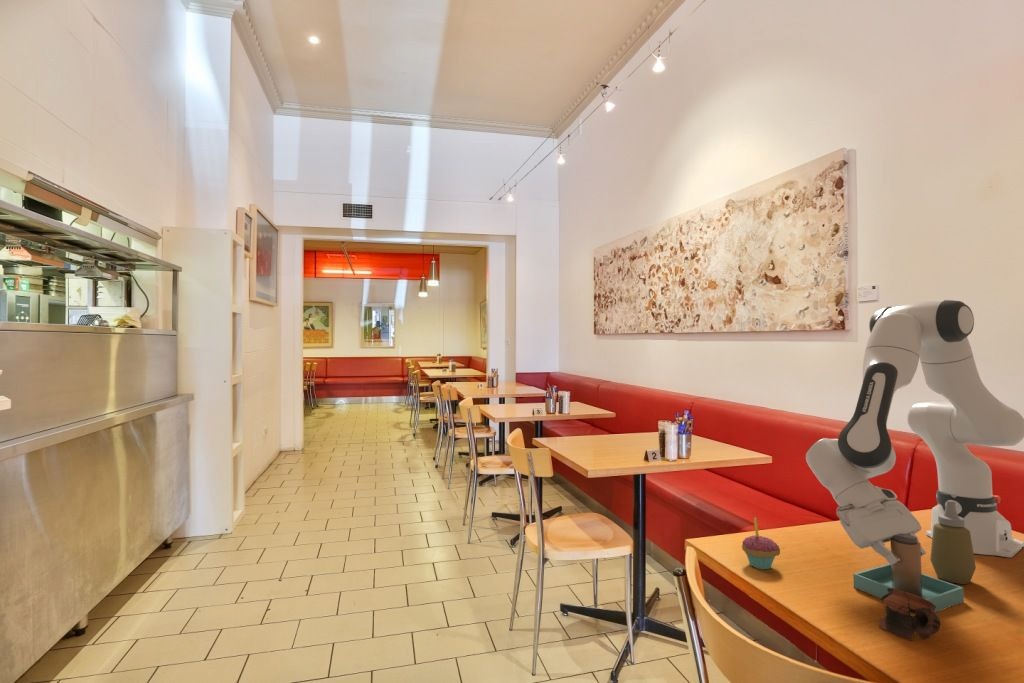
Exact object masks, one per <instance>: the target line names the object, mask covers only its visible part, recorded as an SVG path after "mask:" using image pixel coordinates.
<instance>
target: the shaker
mask: <svg viewBox="0 0 1024 683" xmlns="http://www.w3.org/2000/svg"><path fill="white" fill-rule="evenodd" d="M890 540H891V541H890V551H891V552H892V553H896V555H897V556H898V557H899V558H900V561H899V562H898V563H896V564H891V570H892V588H894V589H897V590H901V591H904V592H908V593H911V594H914V595H916V596H919V597H922V574H923V572H922V556H921V547H922V545H921V542H920V541H919V542H918V541H917V538H916V537H914V536H912V535H908V534H897V535H893V537H892V538H891V539H890Z"/></svg>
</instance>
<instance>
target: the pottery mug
mask: <svg viewBox="0 0 1024 683" xmlns="http://www.w3.org/2000/svg"><path fill="white" fill-rule="evenodd" d="M887 591H888V594H885V595H884V596H882V597H881V598H879V600H880V601H881V602H882V601H883V604H884V605H885V616H883V615H879V616H878V626H879V629H881V630H884V631H888V632H890V633H892V634H893V635H895V636H897V637H900V638H903V639H904V640H907V641H910V642H913V639H914V635H915V633H916V635H917V636H918V637H919V638H920V639H922V640H926V639H930V637H931V636H933V635H935V634H937V633H938V632H939V630H940V628H941V625H942V624H941V620H940V617H939V616H938V615H937V612H935V608H936V606H935V605H934V604H933V603H931V602H930V601H928V600H926V599H924V598H921V597H919V596H916V595H914V594H911V593H908V592H904V591H901V590H897V589H893V588H888V589H887ZM911 613H912V614H914V615H912V614H911Z"/></svg>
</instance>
